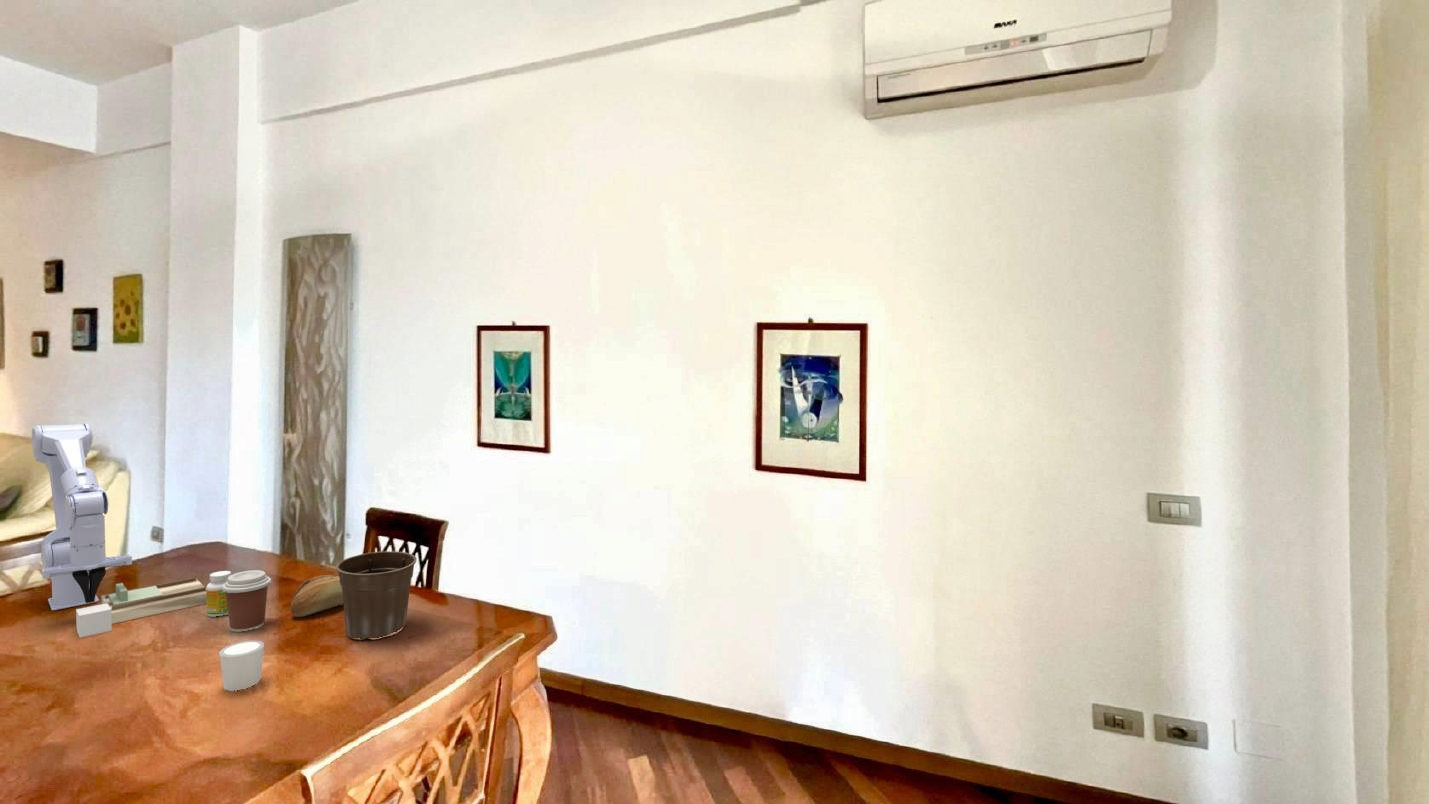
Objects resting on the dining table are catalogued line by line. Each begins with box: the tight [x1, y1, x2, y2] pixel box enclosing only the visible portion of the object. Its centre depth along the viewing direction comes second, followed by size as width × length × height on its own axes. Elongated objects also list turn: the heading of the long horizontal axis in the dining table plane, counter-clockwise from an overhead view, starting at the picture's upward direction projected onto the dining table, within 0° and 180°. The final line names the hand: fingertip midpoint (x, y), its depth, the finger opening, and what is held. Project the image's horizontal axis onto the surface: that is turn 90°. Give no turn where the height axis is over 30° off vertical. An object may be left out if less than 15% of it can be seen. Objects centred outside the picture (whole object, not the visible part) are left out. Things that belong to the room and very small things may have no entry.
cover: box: [109, 582, 163, 606], centre depth 150 cm, size 8×8×3 cm
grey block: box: [75, 603, 113, 639], centre depth 138 cm, size 5×5×5 cm
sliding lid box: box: [100, 577, 207, 625], centre depth 154 cm, size 15×18×3 cm
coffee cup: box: [222, 569, 272, 633], centre depth 143 cm, size 9×9×12 cm
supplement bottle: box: [206, 570, 232, 618], centre depth 150 cm, size 5×5×10 cm
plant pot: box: [335, 550, 417, 640], centre depth 143 cm, size 16×16×16 cm
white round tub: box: [218, 640, 265, 692], centre depth 119 cm, size 7×7×7 cm
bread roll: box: [290, 574, 344, 618], centre depth 154 cm, size 10×15×8 cm, turn 158°
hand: (89, 601), depth 144 cm, fingers closed
